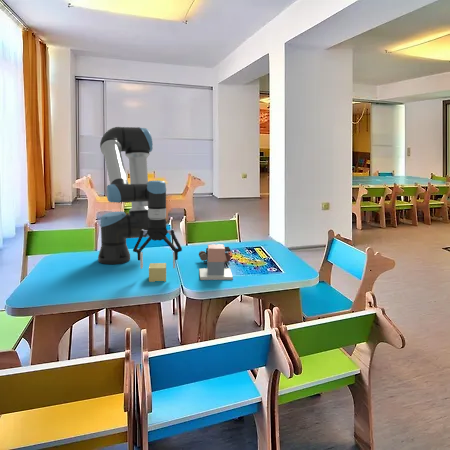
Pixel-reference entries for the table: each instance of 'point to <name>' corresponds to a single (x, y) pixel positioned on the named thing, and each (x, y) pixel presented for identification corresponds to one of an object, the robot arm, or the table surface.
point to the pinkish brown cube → (216, 253)
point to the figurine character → (204, 255)
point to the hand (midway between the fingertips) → (158, 267)
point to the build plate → (205, 275)
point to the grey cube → (215, 268)
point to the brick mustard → (157, 272)
